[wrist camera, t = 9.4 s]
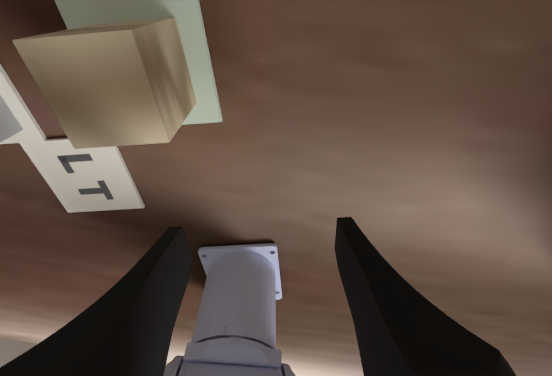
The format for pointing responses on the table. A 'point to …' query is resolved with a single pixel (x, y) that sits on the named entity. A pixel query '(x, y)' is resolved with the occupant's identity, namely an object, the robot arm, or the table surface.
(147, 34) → the maple block
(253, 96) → the table surface
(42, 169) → the tile
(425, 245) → the table surface
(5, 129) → the grey block
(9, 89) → the tile
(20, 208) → the table surface
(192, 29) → the mat
